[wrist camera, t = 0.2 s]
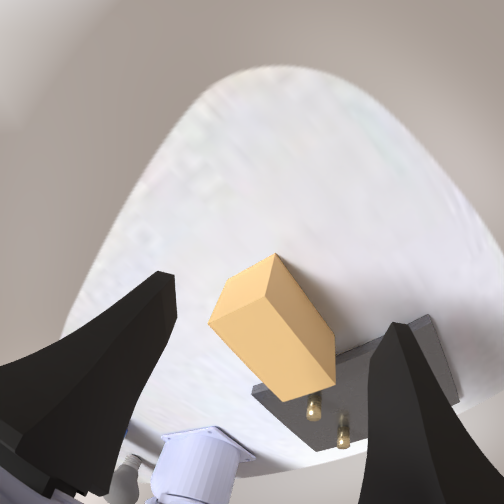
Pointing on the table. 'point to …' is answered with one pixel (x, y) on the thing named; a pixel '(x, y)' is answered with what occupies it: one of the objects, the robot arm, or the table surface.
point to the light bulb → (125, 482)
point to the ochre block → (276, 330)
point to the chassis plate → (350, 394)
